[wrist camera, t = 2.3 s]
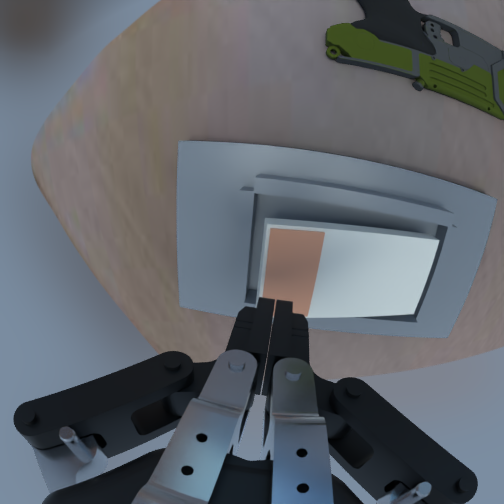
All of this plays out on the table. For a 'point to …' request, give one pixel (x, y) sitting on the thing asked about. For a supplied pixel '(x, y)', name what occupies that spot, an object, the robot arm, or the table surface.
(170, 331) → the table surface
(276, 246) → the rocker
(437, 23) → the gun
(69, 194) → the table surface
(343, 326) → the panel
